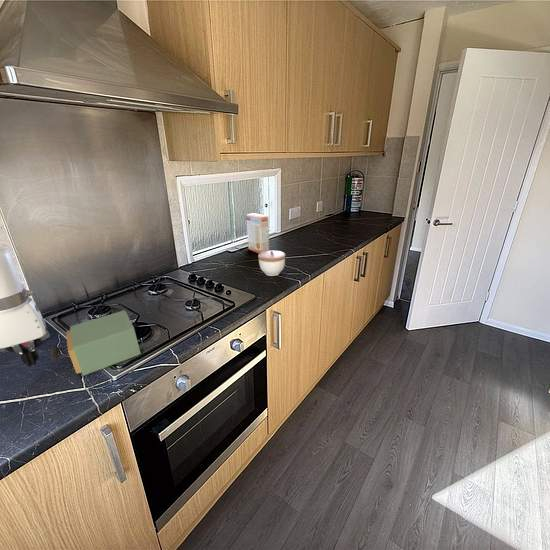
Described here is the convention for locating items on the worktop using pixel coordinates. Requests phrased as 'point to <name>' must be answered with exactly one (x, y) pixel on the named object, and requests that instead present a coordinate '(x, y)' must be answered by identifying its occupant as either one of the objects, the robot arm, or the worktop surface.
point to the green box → (104, 342)
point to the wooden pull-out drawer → (71, 353)
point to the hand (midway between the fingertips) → (32, 363)
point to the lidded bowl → (272, 262)
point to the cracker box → (257, 232)
